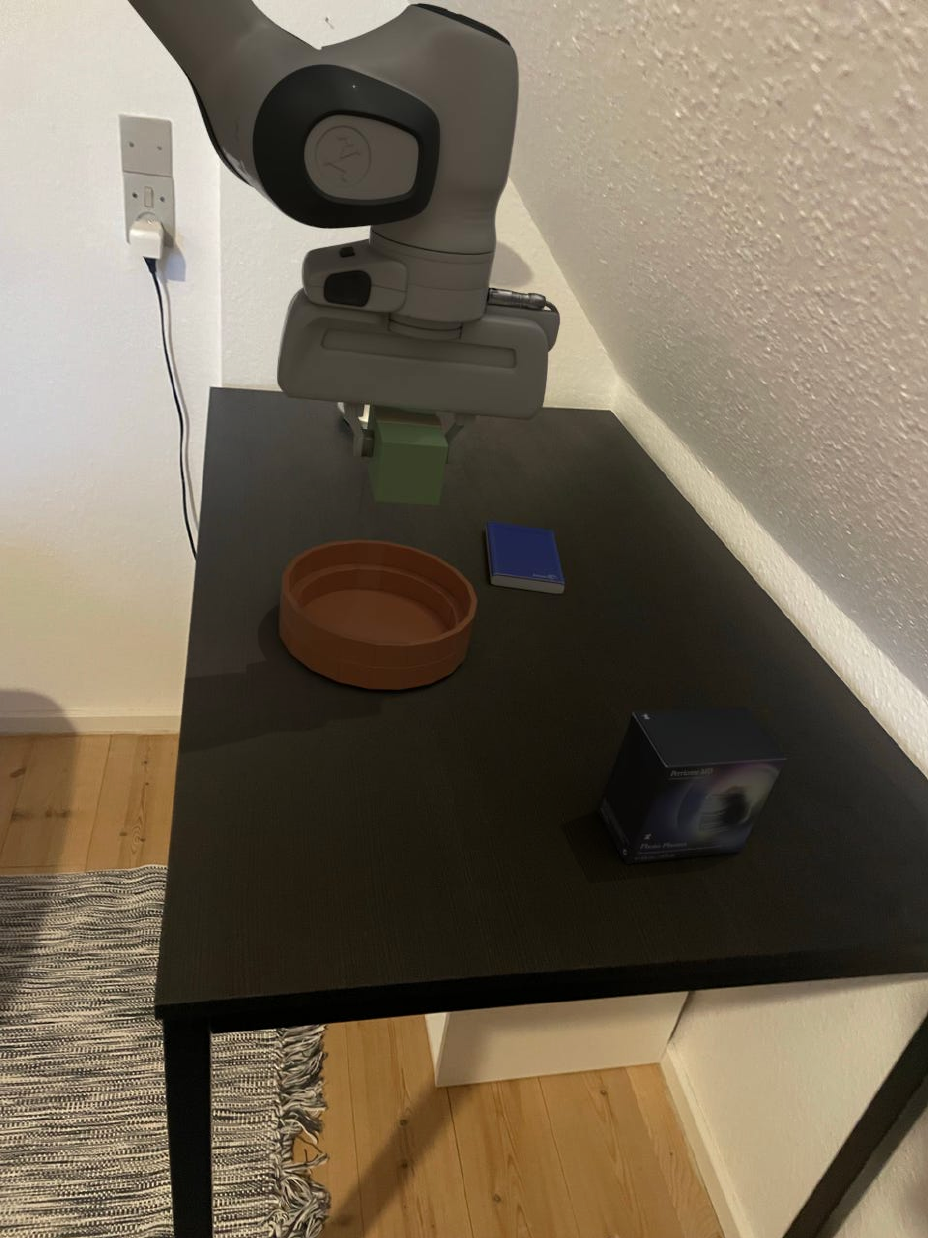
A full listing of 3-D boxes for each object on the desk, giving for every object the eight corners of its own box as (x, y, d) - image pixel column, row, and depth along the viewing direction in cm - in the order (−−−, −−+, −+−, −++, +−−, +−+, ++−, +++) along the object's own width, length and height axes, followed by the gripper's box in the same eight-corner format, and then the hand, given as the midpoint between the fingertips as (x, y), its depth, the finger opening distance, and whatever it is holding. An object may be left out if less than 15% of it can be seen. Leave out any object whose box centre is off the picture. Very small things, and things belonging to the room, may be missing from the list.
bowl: (281, 692, 82) (285, 641, 79) (276, 581, 97) (279, 534, 94) (483, 697, 86) (494, 648, 83) (449, 589, 101) (457, 545, 98)
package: (373, 501, 71) (381, 439, 69) (363, 451, 79) (370, 393, 76) (439, 506, 73) (449, 445, 70) (423, 456, 80) (432, 399, 77)
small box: (626, 870, 72) (665, 767, 66) (593, 808, 77) (627, 708, 71) (744, 856, 75) (792, 758, 69) (705, 798, 80) (746, 702, 74)
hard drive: (565, 582, 104) (553, 530, 114) (492, 572, 103) (487, 520, 113) (562, 594, 104) (550, 541, 115) (490, 584, 103) (484, 531, 114)
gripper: (554, 285, 72) (519, 451, 80) (283, 249, 67) (272, 430, 75) (577, 309, 67) (536, 485, 75) (284, 273, 62) (273, 465, 70)
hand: (402, 457), depth 75 cm, fingers closed on package, 5 cm apart
